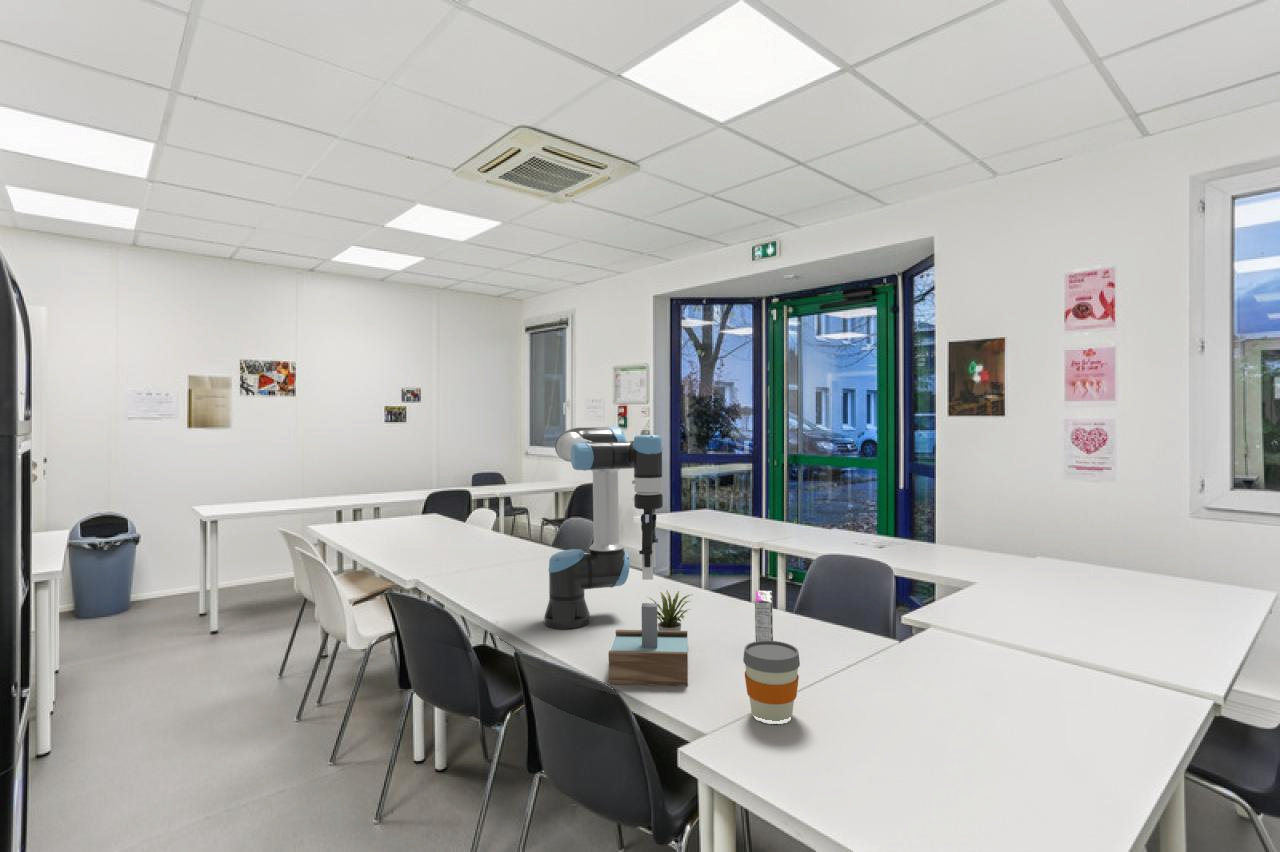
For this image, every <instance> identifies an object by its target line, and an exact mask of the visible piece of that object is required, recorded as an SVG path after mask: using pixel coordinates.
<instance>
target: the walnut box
mask: <svg viewBox="0 0 1280 852" xmlns="http://www.w3.org/2000/svg"><path fill="white" fill-rule="evenodd" d="M657 631H658V636H663V637H687V639H688V630H681V631H662V630H658V629H657ZM615 636H642V629H616V630H615ZM688 657H689V656H688ZM688 657H687V652H667V651H611V649H609V651H608V681H609V682H608V685H632V686H633V685H635V686H637V685H638V686H639V685H640V686H643V685H645V686H679V685H686V687H687V686H688V684H689V683H688V681H689V678H688V675H689V674H688V673H689V672H688V671H689V670H688V669H689V666H688V665H689V661H688V660H689V659H688Z"/></svg>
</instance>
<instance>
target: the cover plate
mask: <svg viewBox="0 0 1280 852" xmlns="http://www.w3.org/2000/svg"><path fill="white" fill-rule="evenodd" d="M657 604H658V603H657V602H656V603H655V602H652V603H648V602H645V603H644V602H643V603H641V630H642V636H616V635H615V637H614V640H613V644H612V646H611V649H610V651H667V652H687V657H689V656H688V655H689V654H688V651H689V650H688V646H689V643H688V642H689V641H688V639H687V638H688V636H687V637H663V636H658V631H657V630H658V618H657V616H658V614H657V611H658V606H657Z"/></svg>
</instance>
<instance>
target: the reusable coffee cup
mask: <svg viewBox="0 0 1280 852" xmlns="http://www.w3.org/2000/svg"><path fill="white" fill-rule="evenodd" d="M743 649H744V651H743V664H744V667H745V671H744V679H745V685H746V686H745V687H746V693H747V695H748V697H749V702H750V712H751V715H752V714H753V715H754V716H756V717H758V718H762V719H765V720H772V721H780V720H784V719H788V718H789V717H791V716H792V717H793V711H794V704H795V700H796V699H797V695H798V686H799V677H800V676H799V674H798V672H799V671H798V670H799V667H800V665H801V663H800V654H799V649H798V648H797V647H796V646H794V645H793V644H790V643H787V642H782V641H776V640H773V641H756V640H755V641H753V642H750V643H747V644H746V645H745V646H744V648H743Z"/></svg>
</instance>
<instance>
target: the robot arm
mask: <svg viewBox="0 0 1280 852" xmlns="http://www.w3.org/2000/svg"><path fill="white" fill-rule="evenodd" d="M626 438H627V437H626V435H625V433H624V431H623V430H622V429H621V428H620V427H615V426H614V427H613V426H606V427H605V426H603V427H602V426H599V427H574V428H570V429H568V430H565V431H563V432H562V433H560V435H559V436H558V437H557V438H556V440H555V443H554V448H555V449H554V450H555V453H556V454H557V456H558V457H559V459H562V460H563V461H565V462H568V463H570V464H571V466H572V469H574V470H575V471H586V472H587V471H591V472H592V503H593V504H592V509H593V511H592V512H593V515H592V516H593V518H592V519H593V520H592V521H593V543H592V544H591V545H590V546H589V550H588V551H589V553H585V551H584V550H583V549H580V548H577V549H572V548H571V549H566V550H562V551H558V552H556V553H554V554H552V555H551V556H550V557H549V561H548V562H549V563H548V581H549V583H548V584H549V585H548V587H549V588H548V590H549V591H548V592H549V593H548V594H549V597H548V598H549V599H548V603H547V606H546V609H545V613H544V615H543V616H544V618H543V622H544V625H545V626H546V627H549V628H551V629H555V630H557V629H558V630H570V629H569V628H573V629H578V628H582V627H584V625H585V626H587V625H588V624H589V623H590V622H591V614H590V611H589V608H588V605H587V602H586V598H585V590H591V589H600V588H601V589H602V588H604V589H605V588H615V587H622V586H623V585H625V584H626V582H627V580H628V577H629V574H630V565H631V564H630V562H631V561H630V555H629V553H628V551H626V550H625V548H624V547H625V546H623V544H621V542H620V528H619V527H620V521H619V519H620V518H619V517H620V516H619V511H620V509H619V471H620V470H627V469H633V473H634V474H633V477H634V480H632V481H631V484H632V485H634V486H633V487H634V493H635V494H634V496H633V500H634V503H633V505H634V508H635V509H638V510H643V513H642V514H641V515H640V523H641V526H640V527H641V550H639V551H638V553H639V555H641V561H642V562H641V563H642V564H641V568H642V569H641V570H642V571H641V572H642V575H641V579H642V580H644V581H645V580H653V581H654V568H657V567H656V566H657V565H656V564H657V562H656V561H657V557H656V553H657V552H656V550H657V548H656V544H658V542H659V539H658V538H657V536H656V527H657V514H656V513H655V511H656V510H657V509H658V510H659V509H662V508H663V501H664V499H663V496H664V495H663V493H662V492H663V491H664V490H663V489H664V488H663V486H664V484H663V481H664V480H663V451H664V450H663V447H664V446H663V443H662V442H663V441H662V437H661V435H658V434H639V435H635V436H634V437H633V440H630V441H627V439H626ZM586 624H587V625H586ZM581 626H582V627H581ZM577 627H578V628H577Z"/></svg>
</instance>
